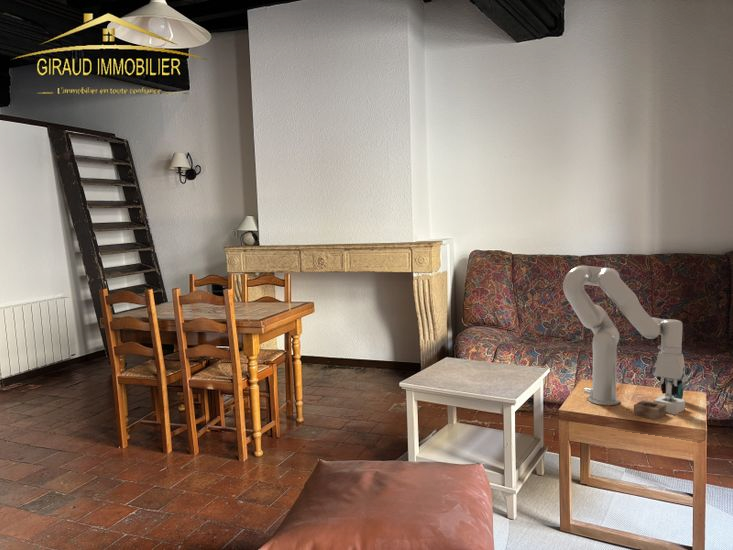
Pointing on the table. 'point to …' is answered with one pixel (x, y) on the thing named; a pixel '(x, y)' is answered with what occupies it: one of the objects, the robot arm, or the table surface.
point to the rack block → (672, 404)
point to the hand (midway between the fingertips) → (669, 393)
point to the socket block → (650, 409)
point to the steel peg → (669, 390)
